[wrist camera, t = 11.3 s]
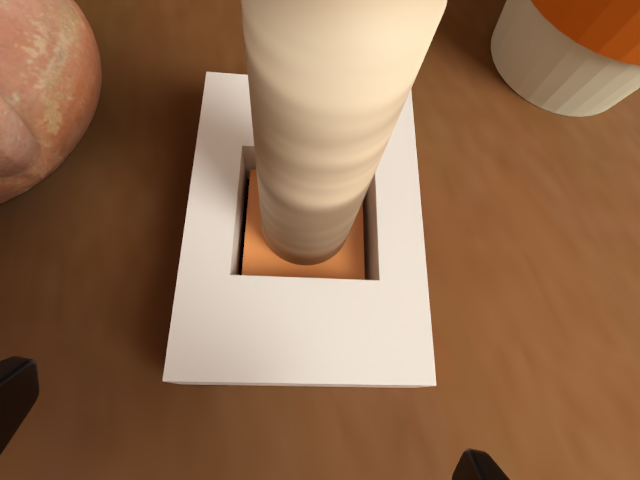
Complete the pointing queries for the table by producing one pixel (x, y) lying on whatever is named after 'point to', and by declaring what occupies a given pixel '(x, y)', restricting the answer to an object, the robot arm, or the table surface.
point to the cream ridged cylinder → (326, 108)
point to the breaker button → (269, 264)
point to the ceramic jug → (43, 88)
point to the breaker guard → (294, 292)
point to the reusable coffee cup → (569, 52)
